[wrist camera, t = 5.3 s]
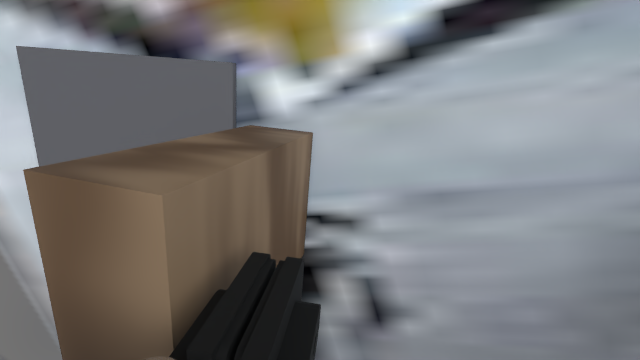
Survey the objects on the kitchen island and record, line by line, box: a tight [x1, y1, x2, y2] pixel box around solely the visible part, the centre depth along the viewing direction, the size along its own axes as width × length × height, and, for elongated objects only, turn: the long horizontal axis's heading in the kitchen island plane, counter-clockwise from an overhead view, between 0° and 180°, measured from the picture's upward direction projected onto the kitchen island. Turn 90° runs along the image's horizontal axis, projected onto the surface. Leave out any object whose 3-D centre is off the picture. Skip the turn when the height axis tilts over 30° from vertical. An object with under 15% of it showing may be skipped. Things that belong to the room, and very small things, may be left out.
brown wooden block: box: [23, 125, 313, 360], centre depth 14 cm, size 4×8×12 cm, turn 175°
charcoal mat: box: [16, 46, 236, 167], centre depth 20 cm, size 14×15×1 cm
